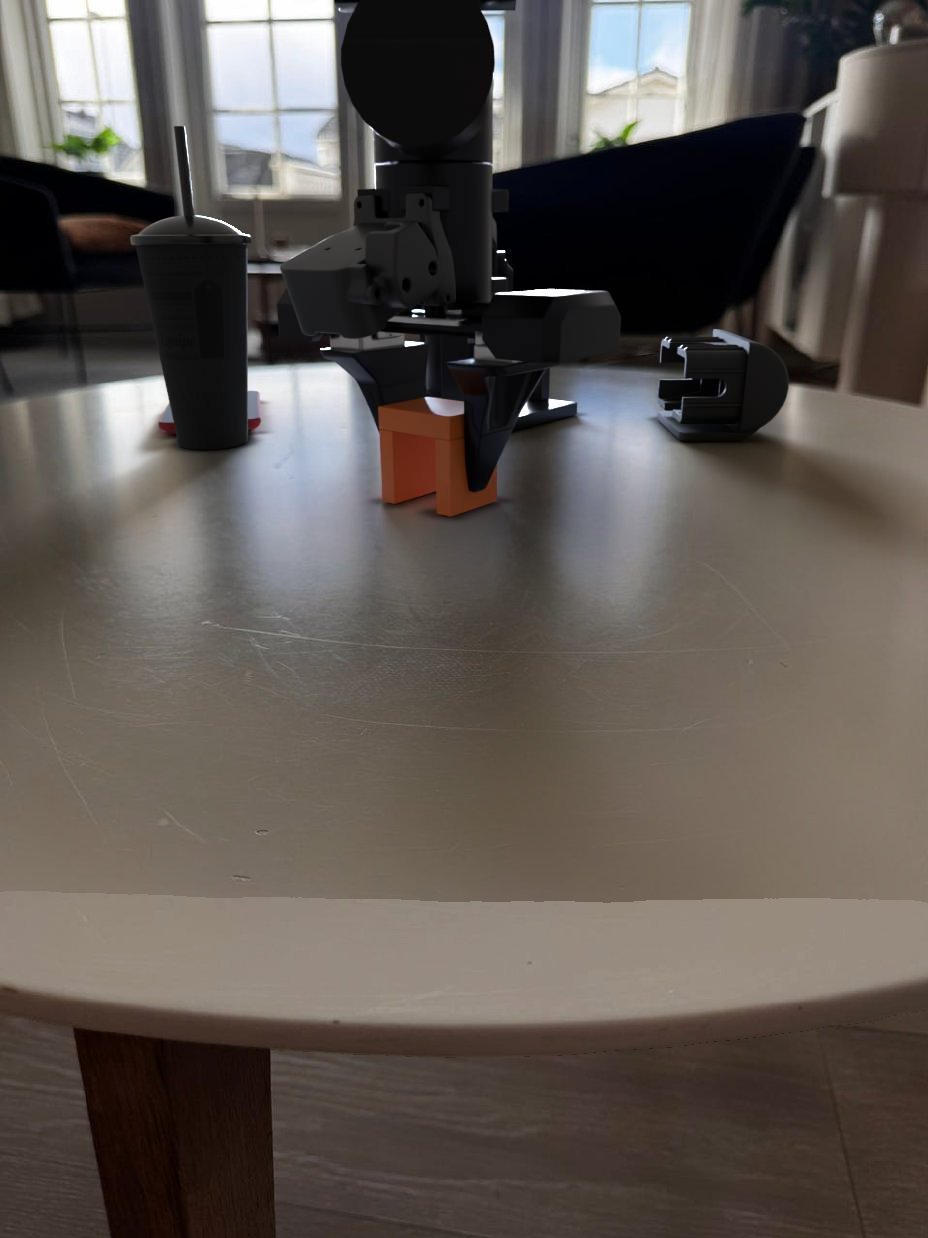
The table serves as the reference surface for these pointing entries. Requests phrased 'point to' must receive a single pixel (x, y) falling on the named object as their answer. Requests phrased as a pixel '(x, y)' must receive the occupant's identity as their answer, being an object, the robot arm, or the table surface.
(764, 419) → the end cap
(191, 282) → the drinking cup
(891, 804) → the table surface
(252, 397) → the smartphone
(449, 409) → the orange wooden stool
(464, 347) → the rack
